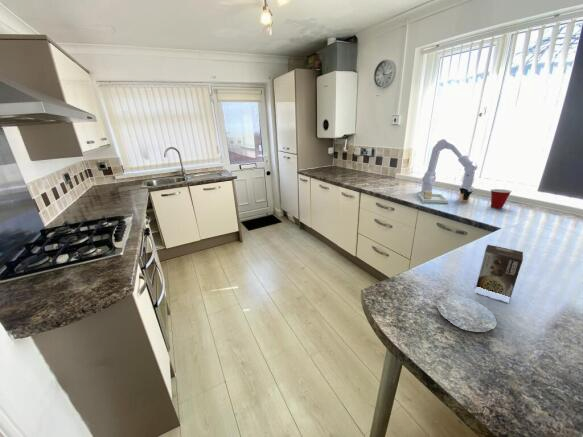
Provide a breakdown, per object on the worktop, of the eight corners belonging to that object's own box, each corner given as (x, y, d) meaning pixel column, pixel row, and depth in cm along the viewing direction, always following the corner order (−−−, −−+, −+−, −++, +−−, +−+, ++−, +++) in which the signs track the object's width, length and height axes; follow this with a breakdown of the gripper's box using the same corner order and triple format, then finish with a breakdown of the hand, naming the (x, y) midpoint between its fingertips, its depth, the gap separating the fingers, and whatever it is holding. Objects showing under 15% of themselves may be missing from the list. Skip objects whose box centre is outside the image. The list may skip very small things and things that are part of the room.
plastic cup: (499, 204, 167) (504, 187, 163) (510, 209, 157) (516, 191, 153) (482, 204, 168) (486, 187, 164) (492, 209, 158) (497, 192, 154)
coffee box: (509, 294, 81) (524, 251, 75) (508, 304, 77) (524, 260, 71) (476, 284, 87) (487, 243, 81) (473, 292, 82) (485, 250, 77)
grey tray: (417, 196, 193) (418, 193, 192) (440, 197, 189) (441, 194, 188) (422, 202, 177) (423, 199, 176) (447, 203, 173) (448, 200, 172)
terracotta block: (458, 199, 181) (460, 193, 179) (465, 200, 180) (467, 193, 178) (461, 201, 177) (462, 194, 175) (468, 201, 176) (469, 195, 174)
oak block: (423, 197, 189) (424, 190, 187) (429, 197, 188) (430, 191, 186) (424, 198, 185) (425, 192, 183) (431, 198, 184) (432, 192, 182)
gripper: (478, 182, 166) (474, 202, 170) (470, 178, 179) (466, 196, 183) (466, 182, 167) (462, 201, 172) (459, 178, 181) (455, 196, 185)
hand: (463, 198), depth 178 cm, fingers closed on terracotta block, 4 cm apart
